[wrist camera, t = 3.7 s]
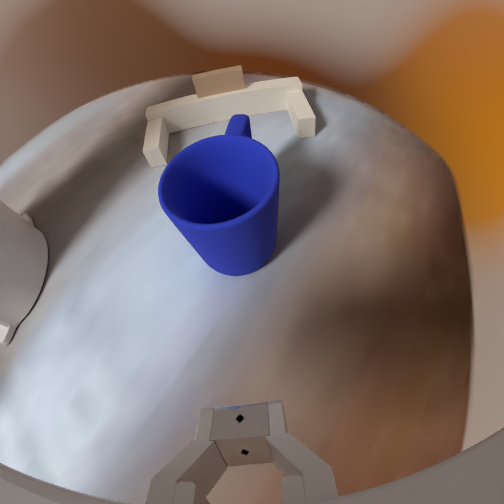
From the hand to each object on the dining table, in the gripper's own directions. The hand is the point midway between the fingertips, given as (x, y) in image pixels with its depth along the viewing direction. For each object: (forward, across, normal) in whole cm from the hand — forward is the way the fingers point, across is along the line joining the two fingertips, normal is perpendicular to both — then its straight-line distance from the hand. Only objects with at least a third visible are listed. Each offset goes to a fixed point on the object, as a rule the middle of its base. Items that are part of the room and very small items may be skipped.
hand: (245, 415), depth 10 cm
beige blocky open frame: (+31, 0, -13) cm, 34 cm away
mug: (+21, 0, -2) cm, 21 cm away
